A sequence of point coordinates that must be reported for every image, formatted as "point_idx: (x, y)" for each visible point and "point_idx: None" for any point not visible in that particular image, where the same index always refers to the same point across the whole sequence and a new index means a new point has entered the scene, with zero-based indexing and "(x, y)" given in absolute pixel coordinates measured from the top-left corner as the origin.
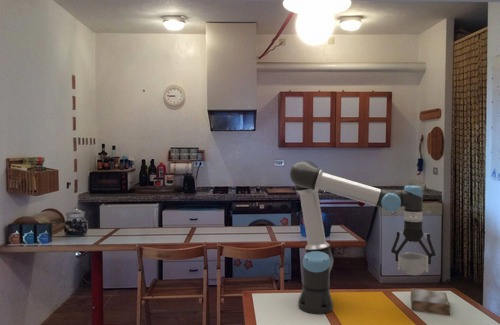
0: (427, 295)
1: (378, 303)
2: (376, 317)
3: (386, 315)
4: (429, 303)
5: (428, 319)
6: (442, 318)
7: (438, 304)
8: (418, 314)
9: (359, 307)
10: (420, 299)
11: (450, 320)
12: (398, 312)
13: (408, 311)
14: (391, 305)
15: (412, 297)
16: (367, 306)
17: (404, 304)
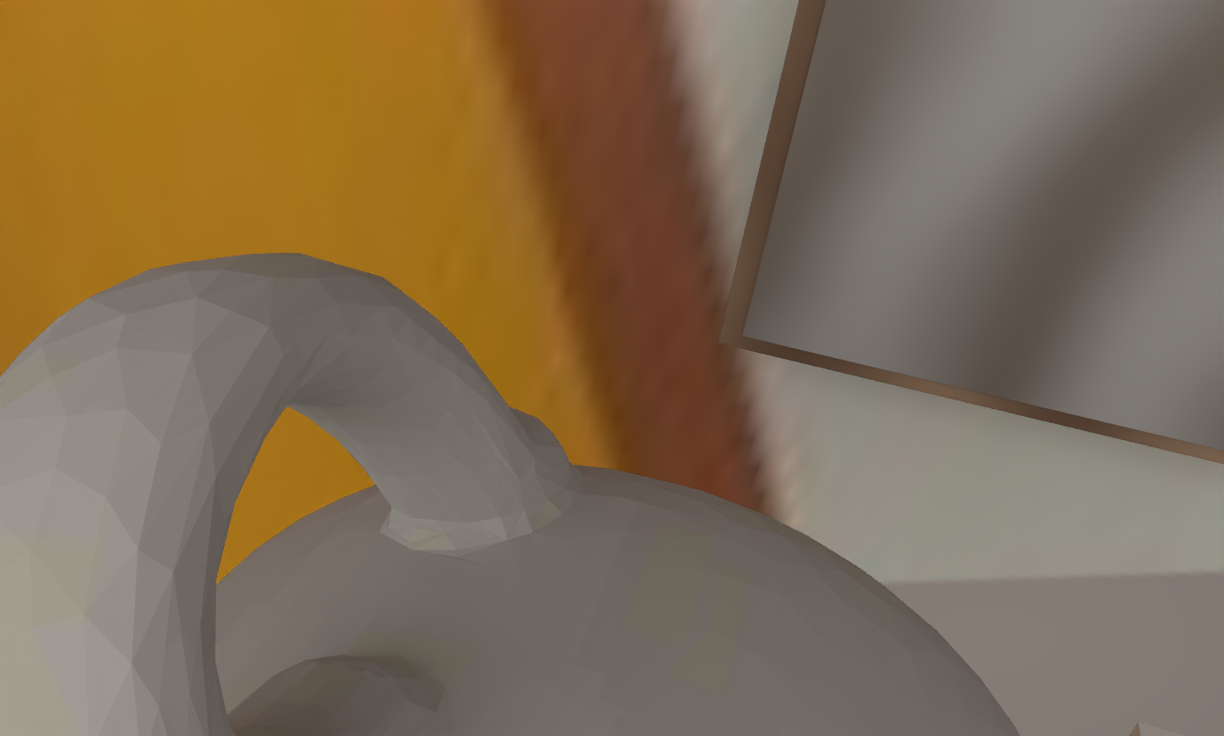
0: (1183, 14)
1: (234, 67)
2: (249, 537)
3: (358, 480)
4: (1020, 411)
5: (883, 556)
6: (1118, 519)
7: (1181, 451)
8: (793, 418)
9: (13, 273)
10: (897, 293)
11: (1210, 571)
12: (516, 379)
13: (669, 330)
14: (435, 122)
15: (774, 163)
16: (101, 222)
17: (666, 31)
